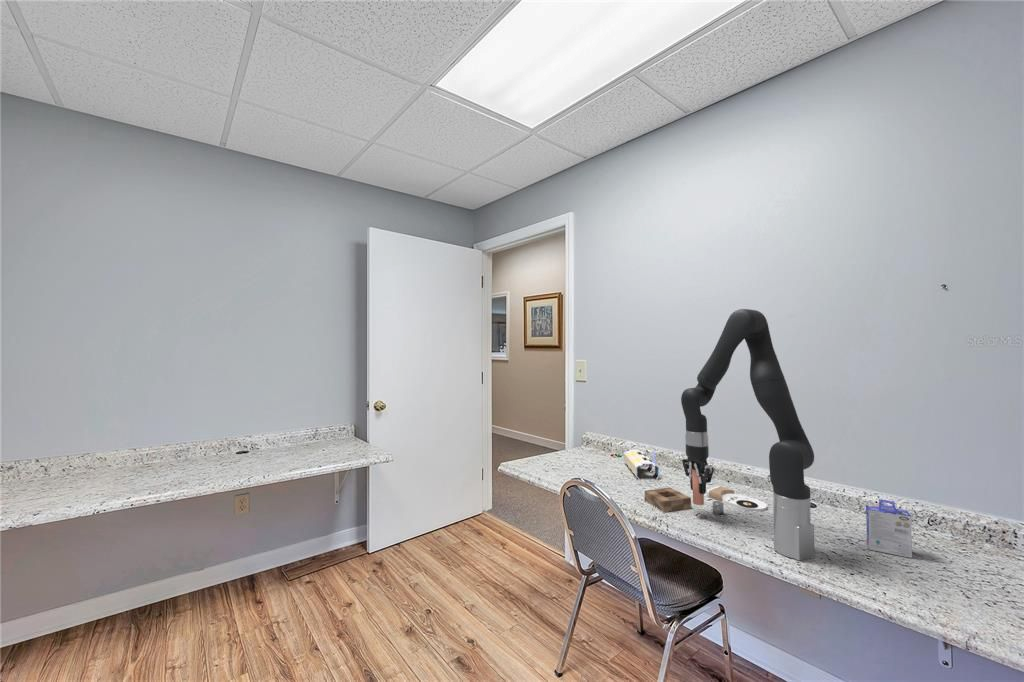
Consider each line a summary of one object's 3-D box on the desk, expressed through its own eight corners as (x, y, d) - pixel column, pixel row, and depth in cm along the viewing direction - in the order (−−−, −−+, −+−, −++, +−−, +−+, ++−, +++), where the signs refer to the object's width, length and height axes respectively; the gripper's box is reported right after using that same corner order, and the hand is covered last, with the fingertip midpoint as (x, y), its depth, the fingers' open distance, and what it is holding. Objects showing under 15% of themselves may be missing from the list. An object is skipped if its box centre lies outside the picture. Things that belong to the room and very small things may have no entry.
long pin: (706, 504, 148) (705, 470, 148) (697, 505, 147) (696, 471, 147) (699, 500, 151) (698, 467, 152) (690, 502, 150) (689, 468, 151)
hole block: (691, 508, 157) (690, 497, 157) (663, 512, 154) (663, 501, 154) (670, 497, 169) (670, 487, 169) (644, 500, 165) (644, 490, 165)
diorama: (659, 480, 190) (659, 452, 190) (636, 480, 190) (636, 451, 190) (644, 464, 215) (643, 439, 215) (623, 464, 215) (623, 439, 215)
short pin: (725, 515, 151) (725, 504, 151) (717, 516, 150) (717, 505, 150) (718, 511, 154) (718, 500, 154) (710, 512, 153) (710, 501, 153)
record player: (720, 484, 174) (772, 500, 158) (720, 492, 175) (772, 508, 158) (705, 490, 168) (757, 507, 151) (705, 498, 168) (757, 515, 151)
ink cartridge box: (908, 550, 124) (907, 502, 124) (913, 559, 120) (913, 508, 120) (865, 542, 130) (864, 496, 130) (868, 550, 125) (868, 501, 125)
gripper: (720, 446, 144) (721, 497, 143) (691, 438, 157) (692, 484, 157) (702, 448, 142) (703, 499, 141) (674, 440, 155) (676, 486, 155)
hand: (698, 491), depth 149 cm, fingers closed on long pin, 3 cm apart
